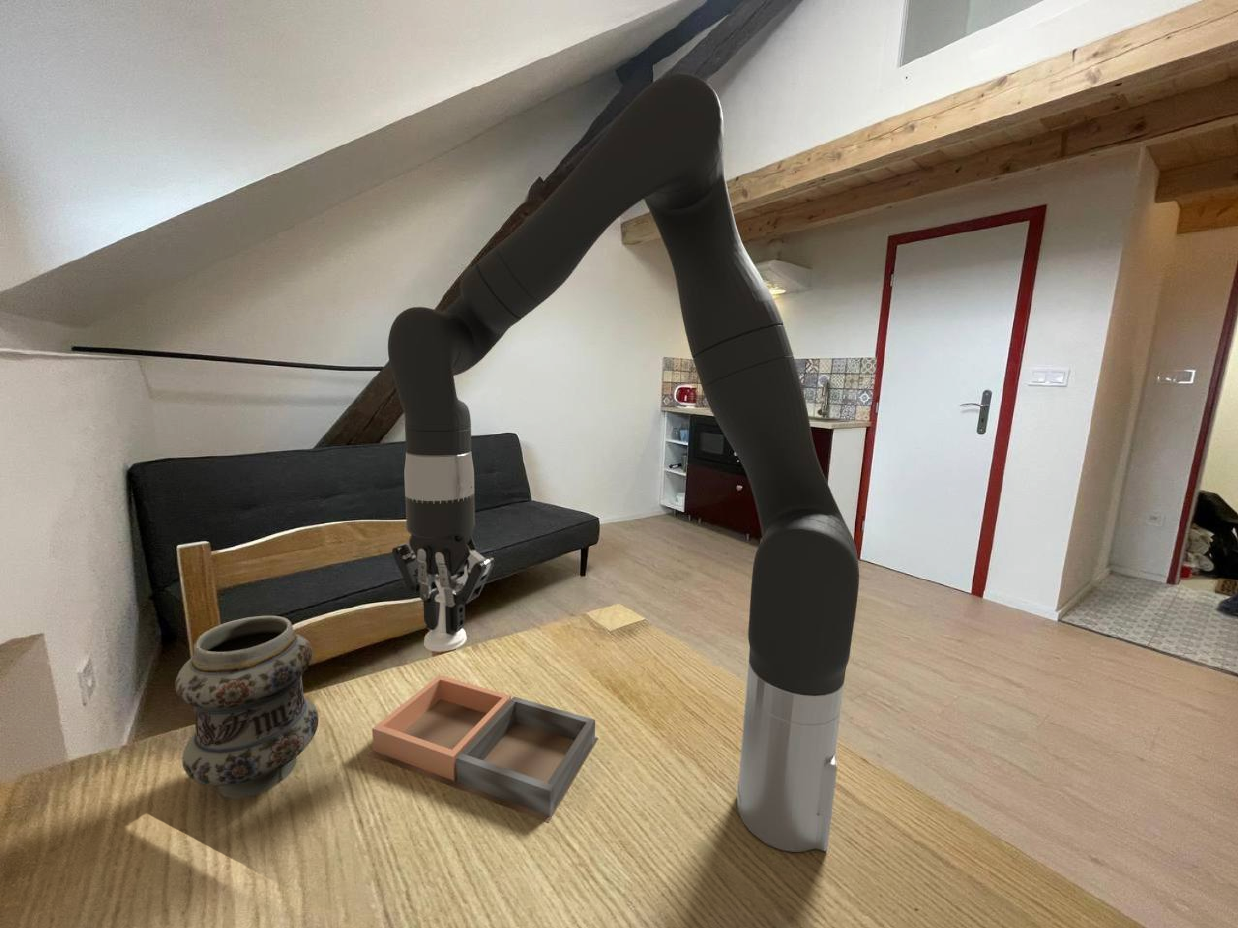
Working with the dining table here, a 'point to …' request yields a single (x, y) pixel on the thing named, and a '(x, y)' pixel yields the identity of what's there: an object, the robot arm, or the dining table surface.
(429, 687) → the orange square tray
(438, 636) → the chess piece
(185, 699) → the apothecary jar
